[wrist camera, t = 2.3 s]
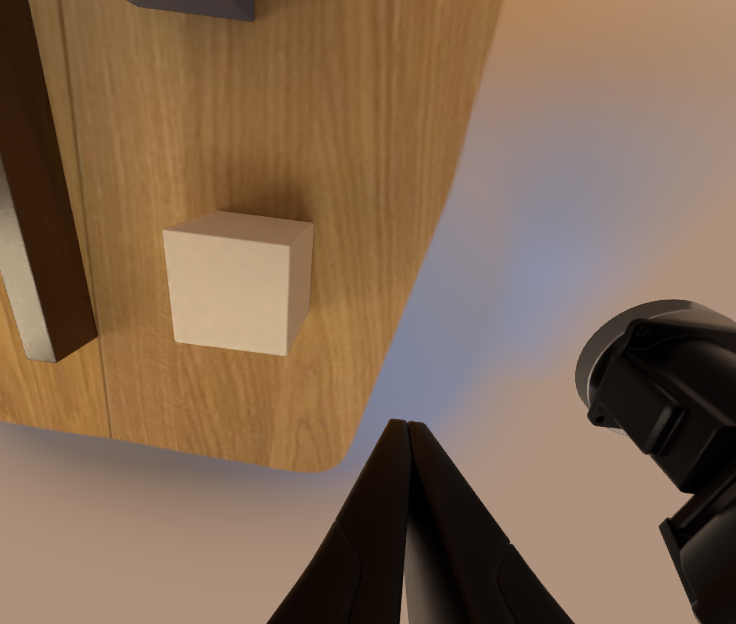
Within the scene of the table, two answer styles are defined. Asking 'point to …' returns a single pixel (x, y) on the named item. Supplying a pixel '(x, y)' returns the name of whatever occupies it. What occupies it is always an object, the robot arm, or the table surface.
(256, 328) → the cream block
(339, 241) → the table surface
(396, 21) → the table surface
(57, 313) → the straightedge
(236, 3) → the slate block
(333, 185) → the table surface
